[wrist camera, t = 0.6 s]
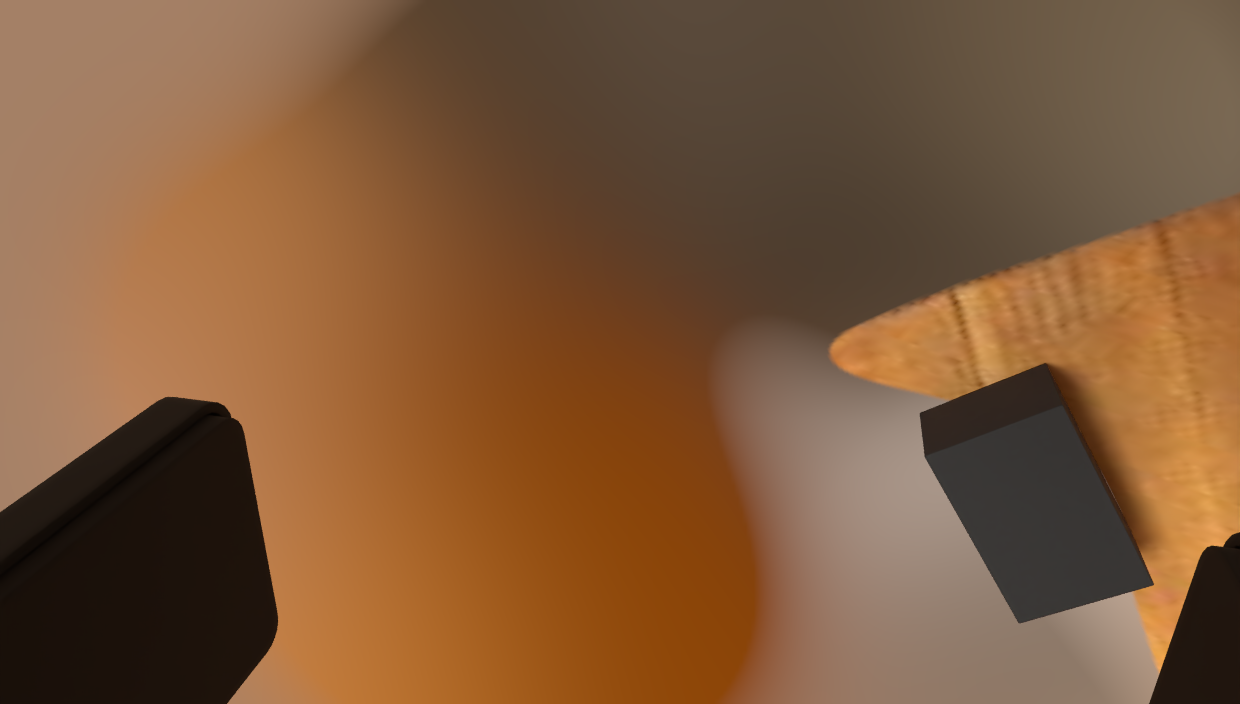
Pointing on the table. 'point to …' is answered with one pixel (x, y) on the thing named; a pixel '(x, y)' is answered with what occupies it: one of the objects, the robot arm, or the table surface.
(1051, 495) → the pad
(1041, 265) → the table surface
